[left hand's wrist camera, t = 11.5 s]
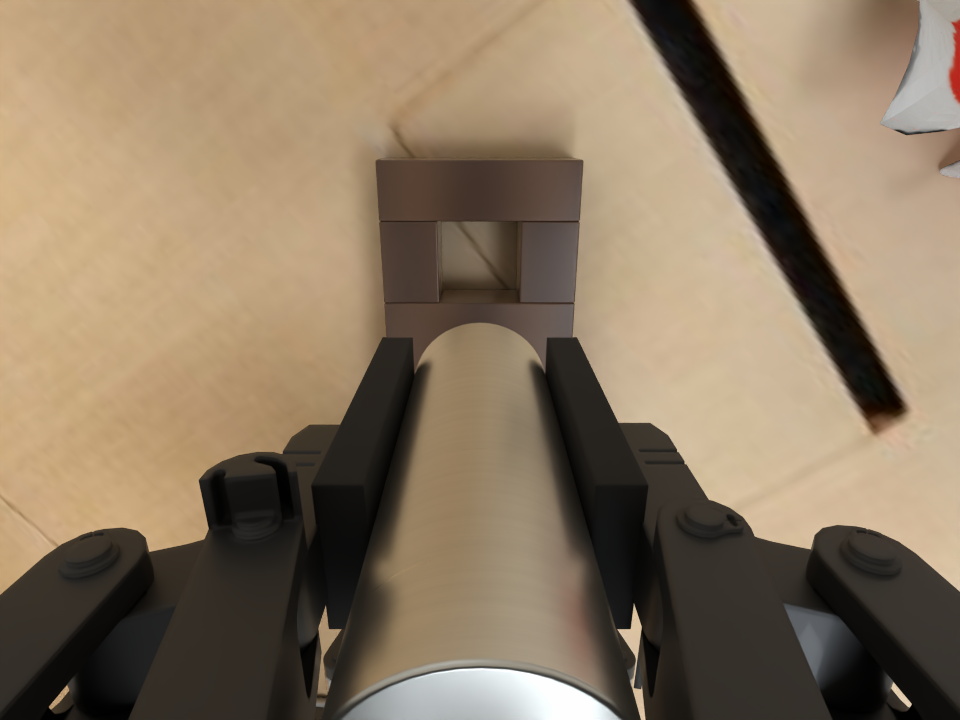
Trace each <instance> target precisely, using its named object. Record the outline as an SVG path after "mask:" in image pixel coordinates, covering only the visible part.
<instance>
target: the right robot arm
mask: <svg viewBox="0 0 960 720" xmlns="http://www.w3.org/2000/svg"><path fill="white" fill-rule="evenodd" d="M344 632H345V629H342V630H341V631H340V633H339V634H338V636H337V637H336V639H335V640H334V642H333V643H332V645H331V646H330V648H329V649H328V651H327V652H326V654H325V655H324V659H323V660H324V668H325V679H326V687H327V692H328V691H329V687H330V684H331V680H332V676H333V673H334V669H335V665H336V662H337V658H338V654H339V651H340V647H341V643H342V640H343V636H344ZM616 632H617V636H618V639H619V643H620V646H621V650H622V654H623V657H624V661H625V664H626V668H627V672H628V675H629V679H630V682H631V686H632V685H633V677H634V670H635V662H636V659H635V655H634V654H633V652H632V651H631V649H630V648H629V646H628V645H627V643H626V642H625V640H624V639H623V637H622V636H621V634H620V633H619V631H618V630H617V629H616ZM325 702H326V698H321V697H317V700H316V710H315V720H321V717H322V713H323V709H324V706H325Z"/></svg>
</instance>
